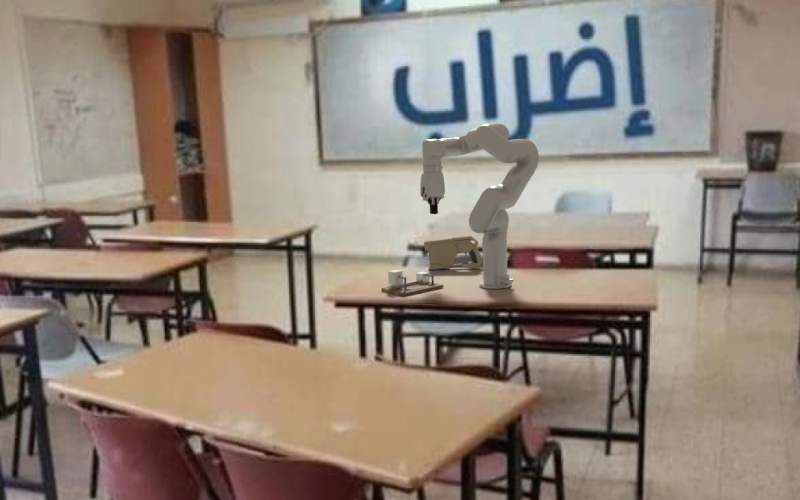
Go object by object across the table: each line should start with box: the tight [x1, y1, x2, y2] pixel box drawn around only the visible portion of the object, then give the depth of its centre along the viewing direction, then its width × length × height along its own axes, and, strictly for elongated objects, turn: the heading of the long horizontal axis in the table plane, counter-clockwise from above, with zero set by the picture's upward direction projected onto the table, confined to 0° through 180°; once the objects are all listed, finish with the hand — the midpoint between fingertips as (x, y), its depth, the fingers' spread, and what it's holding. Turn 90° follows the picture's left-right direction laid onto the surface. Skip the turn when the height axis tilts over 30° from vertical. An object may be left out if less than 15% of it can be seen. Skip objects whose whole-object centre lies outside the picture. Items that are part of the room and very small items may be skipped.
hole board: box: [381, 281, 444, 297], centre depth 314 cm, size 14×20×1 cm
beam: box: [387, 271, 435, 290], centre depth 315 cm, size 8×19×4 cm, turn 128°
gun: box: [423, 235, 483, 271], centre depth 350 cm, size 24×3×15 cm, turn 84°
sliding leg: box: [387, 269, 407, 289], centre depth 311 cm, size 8×4×6 cm, turn 38°
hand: (433, 213), depth 330 cm, fingers closed
